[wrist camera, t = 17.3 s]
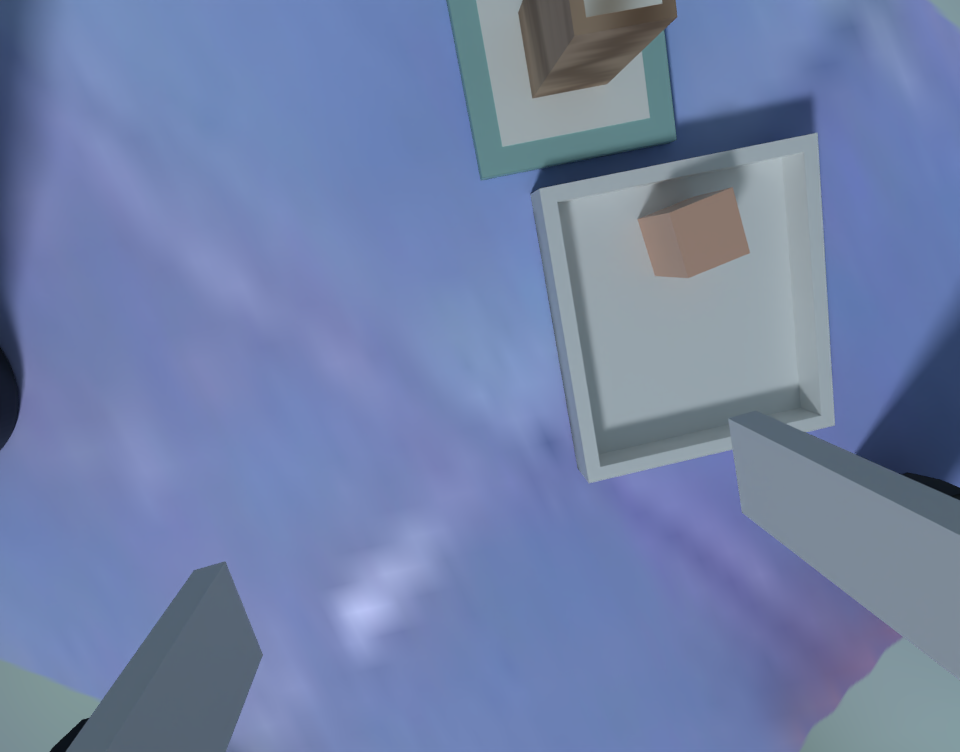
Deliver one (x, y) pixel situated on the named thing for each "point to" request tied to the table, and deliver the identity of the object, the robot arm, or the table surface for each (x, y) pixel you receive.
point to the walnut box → (586, 39)
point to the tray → (687, 309)
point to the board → (551, 98)
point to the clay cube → (694, 235)
